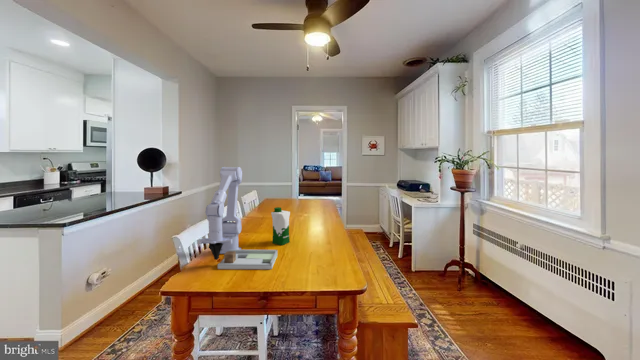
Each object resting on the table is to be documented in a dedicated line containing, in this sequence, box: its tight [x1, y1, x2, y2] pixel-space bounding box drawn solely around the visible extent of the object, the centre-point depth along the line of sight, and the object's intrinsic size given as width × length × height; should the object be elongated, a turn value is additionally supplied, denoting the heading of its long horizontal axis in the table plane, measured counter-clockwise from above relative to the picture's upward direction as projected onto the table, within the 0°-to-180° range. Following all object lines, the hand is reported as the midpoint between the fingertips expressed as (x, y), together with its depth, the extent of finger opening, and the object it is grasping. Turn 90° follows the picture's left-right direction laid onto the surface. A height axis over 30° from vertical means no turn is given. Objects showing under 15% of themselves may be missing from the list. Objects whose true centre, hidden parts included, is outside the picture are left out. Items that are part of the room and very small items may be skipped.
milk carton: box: [270, 206, 291, 246], centre depth 159 cm, size 9×9×20 cm
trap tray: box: [217, 249, 278, 270], centre depth 132 cm, size 24×16×3 cm, turn 90°
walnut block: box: [223, 251, 236, 263], centre depth 128 cm, size 4×4×4 cm
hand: (216, 258), depth 129 cm, fingers closed
